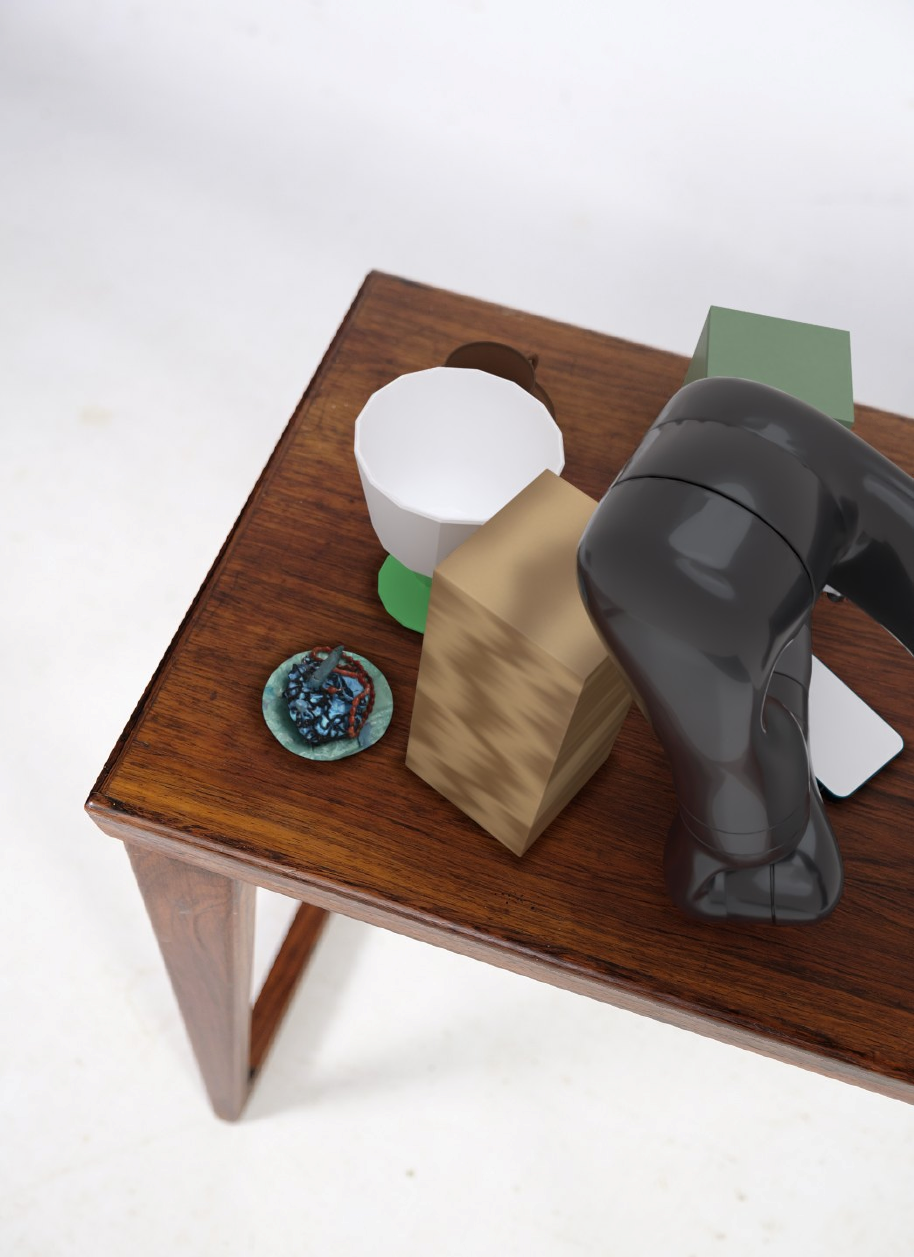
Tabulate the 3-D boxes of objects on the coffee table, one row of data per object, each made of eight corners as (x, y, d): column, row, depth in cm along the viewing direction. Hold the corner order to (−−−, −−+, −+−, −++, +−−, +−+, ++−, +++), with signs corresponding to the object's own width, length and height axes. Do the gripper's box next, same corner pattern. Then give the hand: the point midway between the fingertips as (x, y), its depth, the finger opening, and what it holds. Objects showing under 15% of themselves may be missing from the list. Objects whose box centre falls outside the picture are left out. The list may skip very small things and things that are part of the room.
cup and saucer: (445, 358, 103) (453, 302, 98) (573, 409, 101) (587, 355, 96) (383, 446, 97) (387, 391, 92) (518, 503, 95) (530, 450, 90)
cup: (539, 535, 93) (577, 388, 80) (513, 681, 85) (551, 543, 72) (368, 500, 93) (378, 347, 80) (326, 642, 86) (330, 498, 73)
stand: (607, 758, 83) (692, 565, 65) (520, 858, 78) (585, 679, 60) (495, 673, 86) (547, 467, 68) (404, 765, 81) (433, 568, 63)
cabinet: (799, 524, 97) (854, 422, 87) (666, 499, 97) (706, 394, 87) (798, 436, 103) (850, 331, 93) (672, 412, 103) (710, 304, 93)
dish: (239, 662, 81) (333, 633, 78) (295, 655, 87) (384, 628, 84) (268, 777, 80) (363, 753, 77) (322, 761, 87) (412, 738, 84)
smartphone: (905, 749, 86) (744, 599, 92) (911, 743, 85) (748, 592, 91) (835, 809, 82) (673, 650, 88) (840, 804, 81) (676, 643, 87)
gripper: (878, 631, 78) (867, 452, 88) (665, 591, 78) (676, 417, 88) (836, 690, 85) (830, 518, 94) (639, 653, 85) (652, 484, 94)
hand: (756, 469), depth 91 cm, fingers open, 8 cm apart
